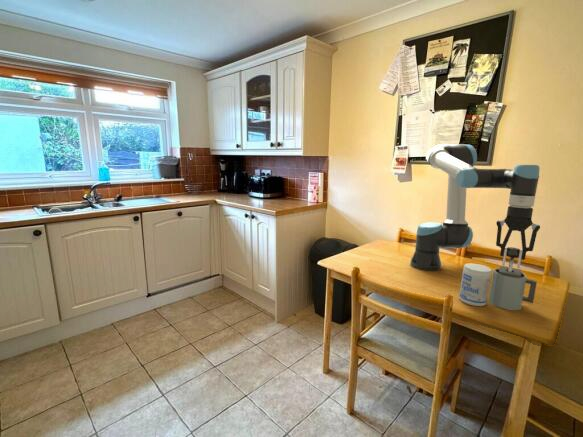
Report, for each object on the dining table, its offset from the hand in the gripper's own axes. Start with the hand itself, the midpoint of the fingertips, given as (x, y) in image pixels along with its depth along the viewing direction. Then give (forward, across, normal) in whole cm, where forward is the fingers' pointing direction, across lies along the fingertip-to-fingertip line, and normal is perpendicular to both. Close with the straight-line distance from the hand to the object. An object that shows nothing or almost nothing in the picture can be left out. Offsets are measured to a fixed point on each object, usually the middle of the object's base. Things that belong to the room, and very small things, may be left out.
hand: (510, 265), depth 115 cm
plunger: (+14, 0, 0) cm, 14 cm away
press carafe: (+16, +2, 0) cm, 16 cm away
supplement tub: (+16, -10, -6) cm, 20 cm away
